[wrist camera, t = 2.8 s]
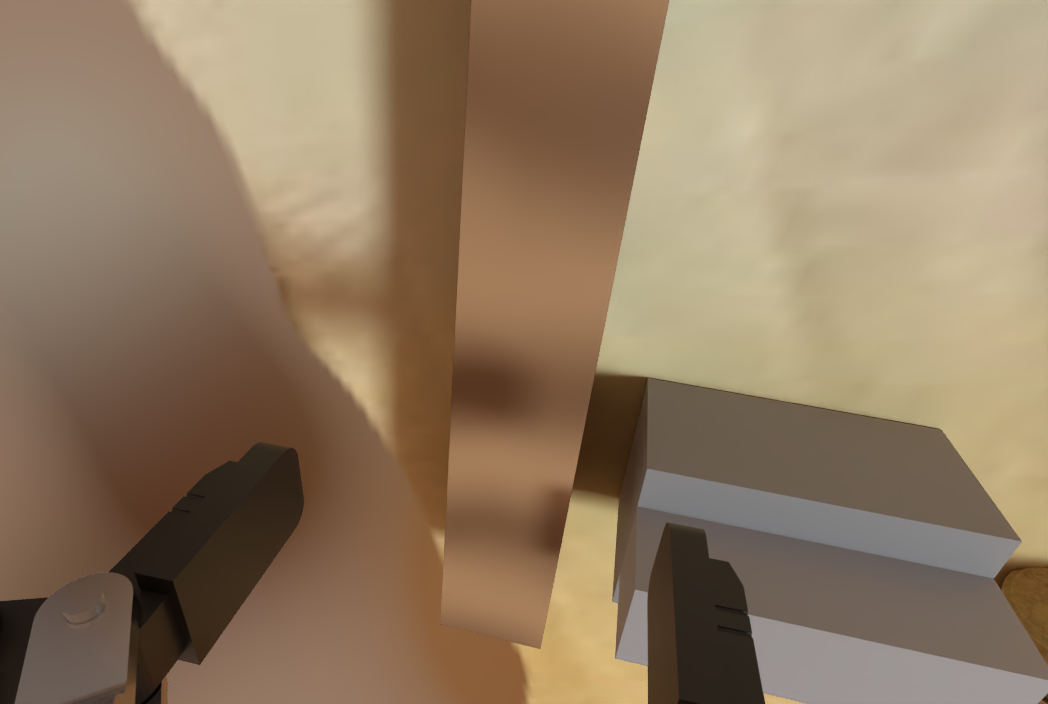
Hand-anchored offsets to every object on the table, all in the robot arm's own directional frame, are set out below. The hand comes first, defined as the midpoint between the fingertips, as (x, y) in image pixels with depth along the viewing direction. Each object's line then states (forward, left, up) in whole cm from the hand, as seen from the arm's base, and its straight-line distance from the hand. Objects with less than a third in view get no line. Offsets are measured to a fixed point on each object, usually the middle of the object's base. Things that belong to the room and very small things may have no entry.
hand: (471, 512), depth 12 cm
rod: (0, 0, -10) cm, 10 cm away
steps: (+5, +9, -10) cm, 14 cm away
